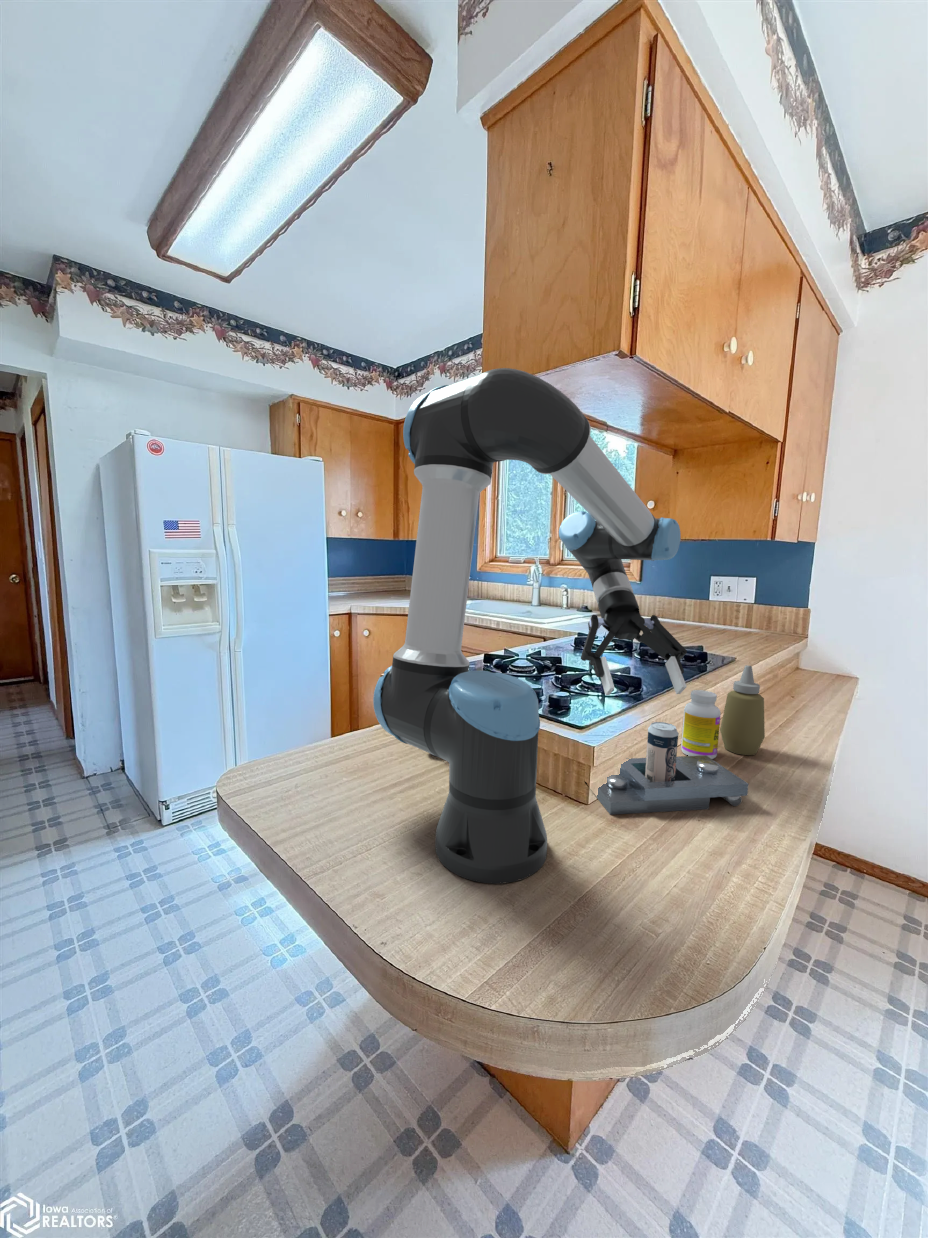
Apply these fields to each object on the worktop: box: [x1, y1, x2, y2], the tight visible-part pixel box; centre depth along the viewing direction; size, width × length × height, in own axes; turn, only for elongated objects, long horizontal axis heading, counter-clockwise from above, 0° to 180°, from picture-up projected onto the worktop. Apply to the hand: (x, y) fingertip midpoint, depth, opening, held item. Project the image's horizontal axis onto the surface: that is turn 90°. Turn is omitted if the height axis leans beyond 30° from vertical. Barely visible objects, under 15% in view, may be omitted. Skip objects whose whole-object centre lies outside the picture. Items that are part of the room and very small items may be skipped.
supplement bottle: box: [680, 689, 722, 760], centre depth 98 cm, size 7×7×13 cm
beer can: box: [645, 721, 679, 782], centre depth 81 cm, size 5×5×12 cm
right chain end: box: [619, 755, 749, 807], centre depth 82 cm, size 18×11×5 cm, turn 97°
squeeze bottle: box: [719, 665, 766, 756], centre depth 100 cm, size 8×8×18 cm
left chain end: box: [596, 774, 711, 815], centre depth 81 cm, size 16×11×3 cm, turn 97°
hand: (646, 691), depth 87 cm, fingers open, 13 cm apart
